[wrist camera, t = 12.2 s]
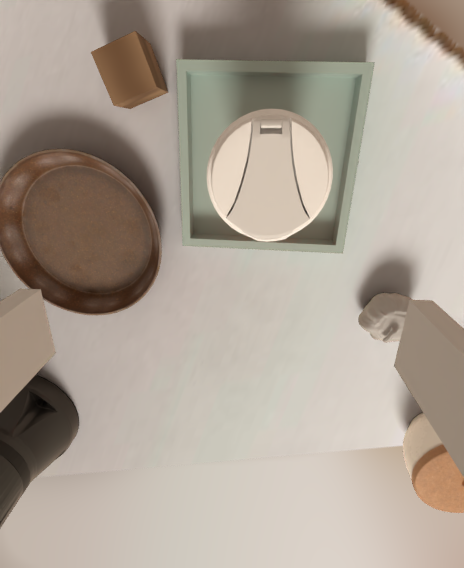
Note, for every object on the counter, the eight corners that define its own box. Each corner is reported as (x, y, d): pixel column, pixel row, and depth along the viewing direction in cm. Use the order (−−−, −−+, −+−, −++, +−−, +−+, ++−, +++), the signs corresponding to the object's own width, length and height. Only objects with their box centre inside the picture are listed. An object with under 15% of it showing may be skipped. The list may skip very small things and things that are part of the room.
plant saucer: (120, 330, 42) (110, 343, 40) (-12, 246, 39) (-32, 254, 36) (199, 219, 36) (194, 226, 33) (50, 108, 33) (31, 105, 30)
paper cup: (225, 118, 31) (200, 107, 18) (310, 118, 31) (345, 105, 18) (226, 204, 34) (205, 246, 21) (303, 205, 34) (329, 248, 21)
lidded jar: (375, 441, 46) (401, 510, 38) (420, 383, 42) (461, 447, 33) (444, 465, 47) (485, 539, 38) (496, 411, 43) (555, 481, 34)
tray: (187, 238, 37) (182, 245, 34) (182, 65, 30) (176, 59, 28) (337, 245, 36) (342, 253, 33) (365, 68, 29) (374, 62, 27)
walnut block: (130, 108, 32) (113, 105, 28) (110, 62, 31) (90, 52, 27) (168, 92, 31) (156, 86, 28) (150, 43, 30) (135, 30, 26)
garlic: (364, 336, 40) (379, 363, 35) (347, 299, 38) (359, 323, 33) (416, 315, 38) (438, 341, 34) (400, 276, 37) (421, 297, 32)
